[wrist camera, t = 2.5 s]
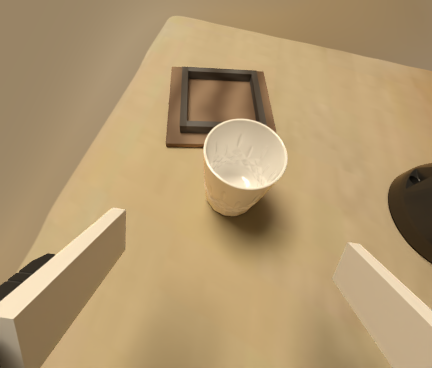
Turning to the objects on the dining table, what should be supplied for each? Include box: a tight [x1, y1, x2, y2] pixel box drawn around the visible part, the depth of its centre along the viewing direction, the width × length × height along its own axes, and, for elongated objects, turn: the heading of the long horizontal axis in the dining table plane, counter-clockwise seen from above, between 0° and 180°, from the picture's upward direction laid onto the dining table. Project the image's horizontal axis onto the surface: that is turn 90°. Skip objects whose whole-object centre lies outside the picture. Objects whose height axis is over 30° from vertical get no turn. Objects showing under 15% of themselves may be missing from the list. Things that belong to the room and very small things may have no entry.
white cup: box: [203, 119, 288, 216], centre depth 23 cm, size 8×8×10 cm
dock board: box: [166, 67, 277, 147], centre depth 33 cm, size 17×17×2 cm
